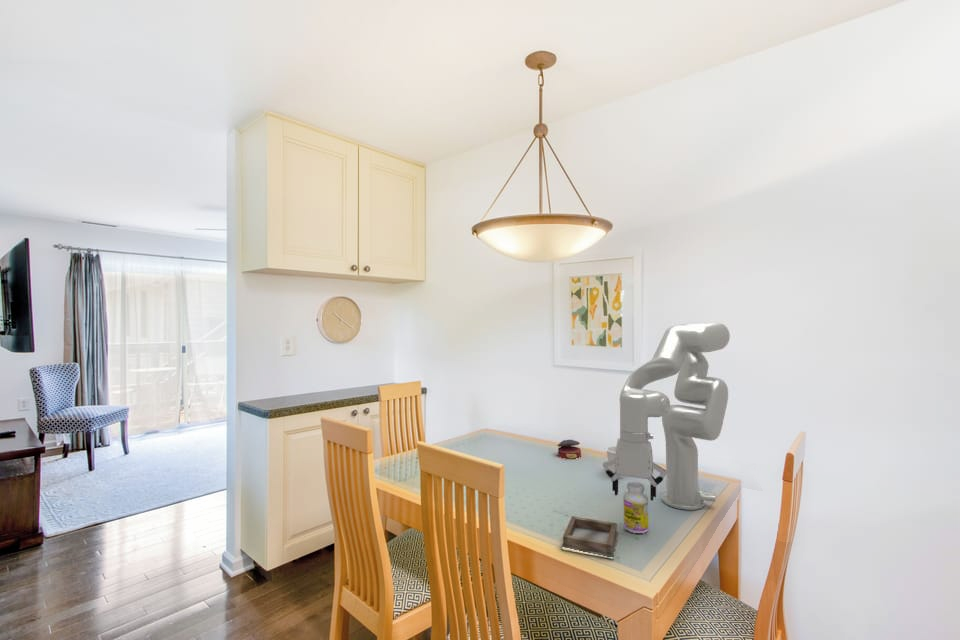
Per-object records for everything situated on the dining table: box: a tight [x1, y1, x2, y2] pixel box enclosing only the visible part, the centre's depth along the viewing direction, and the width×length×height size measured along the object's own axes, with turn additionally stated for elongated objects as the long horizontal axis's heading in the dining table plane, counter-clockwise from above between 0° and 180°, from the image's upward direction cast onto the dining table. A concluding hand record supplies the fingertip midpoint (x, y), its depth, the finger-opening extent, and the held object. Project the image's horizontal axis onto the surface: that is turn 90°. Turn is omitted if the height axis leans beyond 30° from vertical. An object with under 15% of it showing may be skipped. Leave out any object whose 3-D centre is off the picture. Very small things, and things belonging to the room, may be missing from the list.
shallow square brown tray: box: [561, 515, 619, 558], centre depth 118 cm, size 13×13×4 cm
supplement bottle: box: [623, 481, 649, 534], centre depth 125 cm, size 7×7×13 cm
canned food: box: [556, 439, 582, 460], centre depth 191 cm, size 11×10×10 cm
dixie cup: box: [605, 445, 626, 479], centre depth 167 cm, size 8×8×10 cm
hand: (633, 496), depth 124 cm, fingers open, 9 cm apart
